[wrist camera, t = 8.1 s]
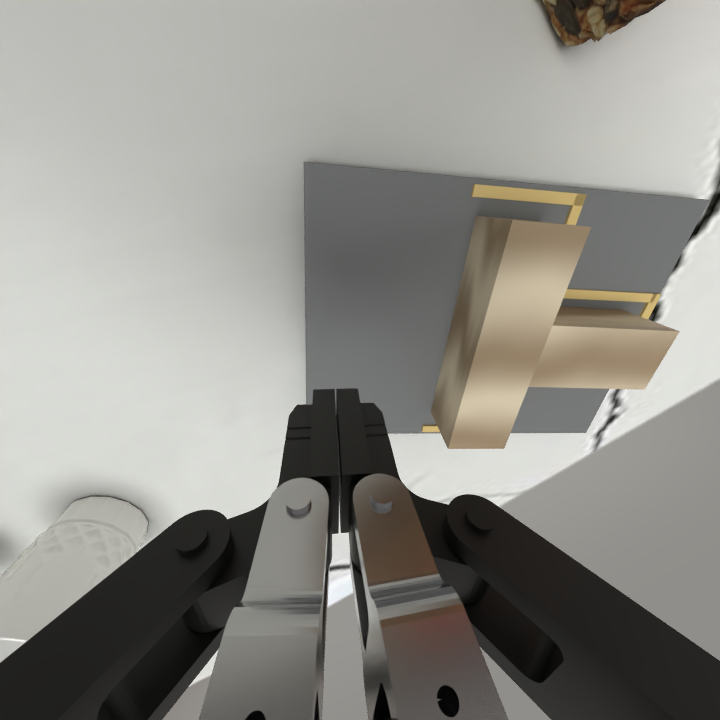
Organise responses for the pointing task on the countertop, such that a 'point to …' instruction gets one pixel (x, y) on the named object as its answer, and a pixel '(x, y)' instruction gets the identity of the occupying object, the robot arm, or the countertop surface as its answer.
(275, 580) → the robot arm
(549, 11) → the bread
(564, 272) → the t block
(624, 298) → the board
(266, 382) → the countertop surface
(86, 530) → the white cup
